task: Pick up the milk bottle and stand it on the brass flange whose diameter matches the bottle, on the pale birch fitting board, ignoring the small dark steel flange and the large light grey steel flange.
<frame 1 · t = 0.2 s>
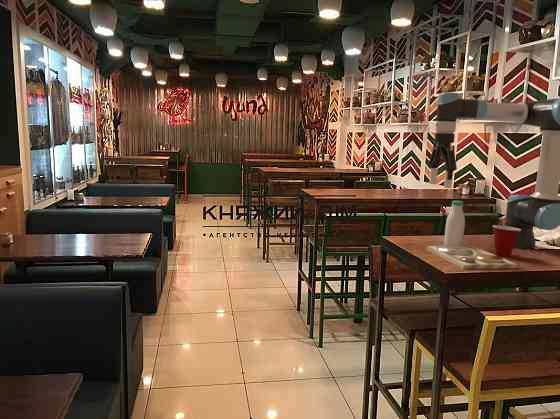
hand: (439, 186, 191), 28 cm above the table, fingers open, 13 cm apart
fitting board: (468, 258, 189), on the table
milk bottle: (453, 246, 209), on the table
flange dn80: (488, 259, 182), resting on fitting board
flange large: (454, 250, 194), resting on fitting board
flange small: (468, 261, 179), resting on fitting board
plastic cup: (503, 255, 197), on the table
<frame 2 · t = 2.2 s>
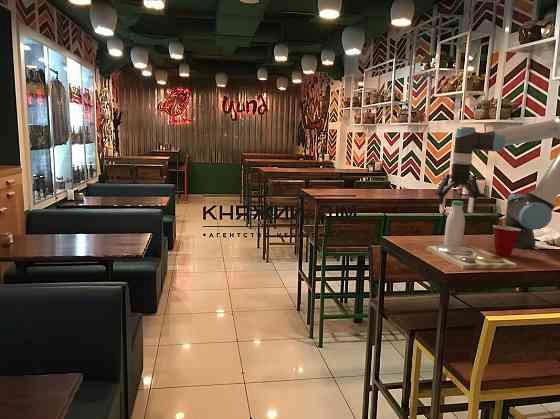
hand: (455, 212, 207), 15 cm above the table, fingers open, 13 cm apart
nothing on the table moved.
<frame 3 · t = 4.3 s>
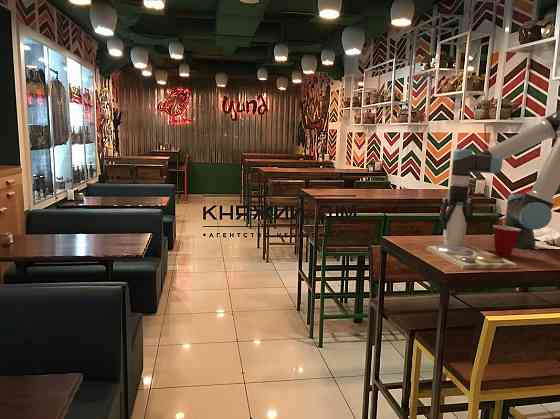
hand: (454, 236, 208), 4 cm above the table, fingers closed on milk bottle, 8 cm apart
milk bottle: (453, 246, 209), on the table, touching gripper
everything else where it was.
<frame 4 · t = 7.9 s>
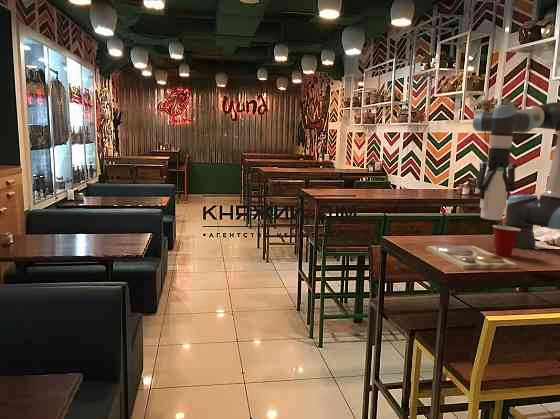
hand: (492, 207, 180), 21 cm above the table, fingers closed on milk bottle, 8 cm apart
milk bottle: (491, 219, 181), point 17 cm above the table, touching gripper
everything else where it was.
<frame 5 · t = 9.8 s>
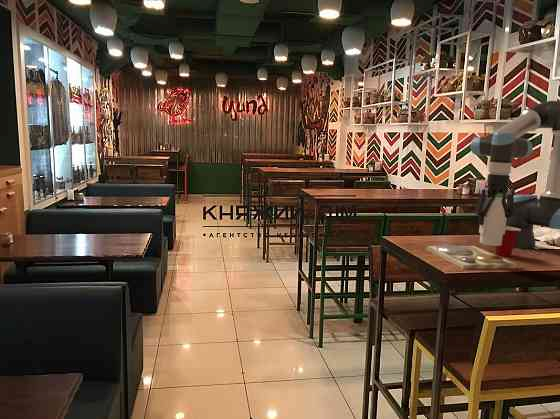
hand: (491, 233, 181), 12 cm above the table, fingers closed on milk bottle, 8 cm apart
milk bottle: (490, 244, 181), point 7 cm above the table, touching gripper
everything else where it was.
when the fingers open (8 cm above the table, at t = 11.5 s): milk bottle drops 1 cm, resting on flange dn80.
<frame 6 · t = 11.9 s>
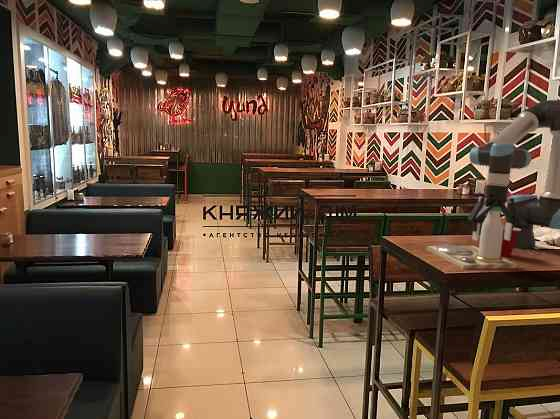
hand: (491, 239, 181), 9 cm above the table, fingers open, 13 cm apart
milk bottle: (489, 257, 182), point 2 cm above the table, touching flange dn80
everything else where it was.
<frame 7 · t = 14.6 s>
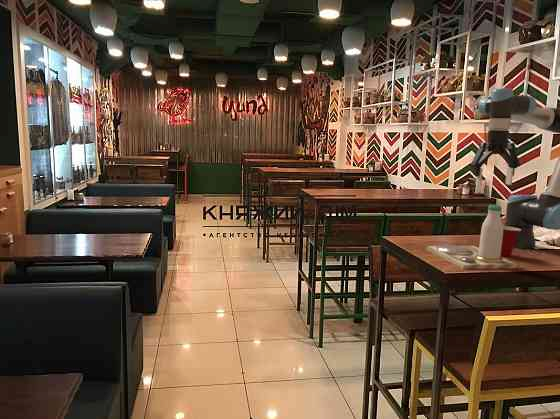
hand: (493, 184, 186), 30 cm above the table, fingers open, 13 cm apart
nothing on the table moved.
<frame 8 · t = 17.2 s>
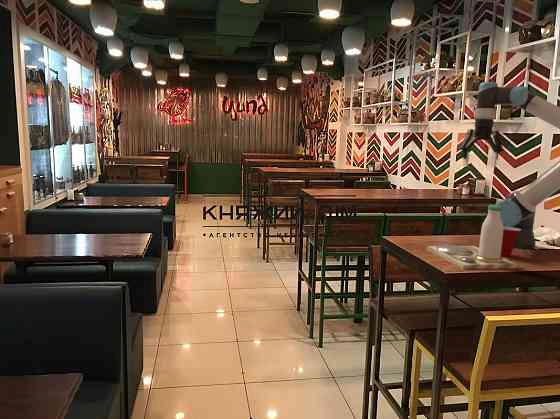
hand: (479, 166, 213), 35 cm above the table, fingers open, 13 cm apart
nothing on the table moved.
at the end: milk bottle 0.1 cm from the flange dn80 (horizontally); milk bottle tilted 0°; the gripper is holding nothing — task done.
